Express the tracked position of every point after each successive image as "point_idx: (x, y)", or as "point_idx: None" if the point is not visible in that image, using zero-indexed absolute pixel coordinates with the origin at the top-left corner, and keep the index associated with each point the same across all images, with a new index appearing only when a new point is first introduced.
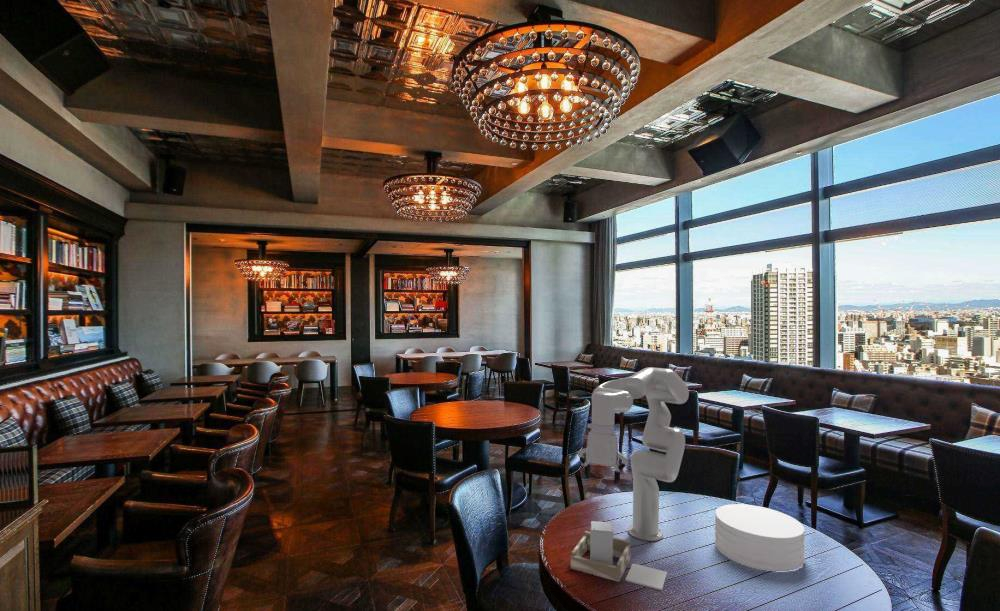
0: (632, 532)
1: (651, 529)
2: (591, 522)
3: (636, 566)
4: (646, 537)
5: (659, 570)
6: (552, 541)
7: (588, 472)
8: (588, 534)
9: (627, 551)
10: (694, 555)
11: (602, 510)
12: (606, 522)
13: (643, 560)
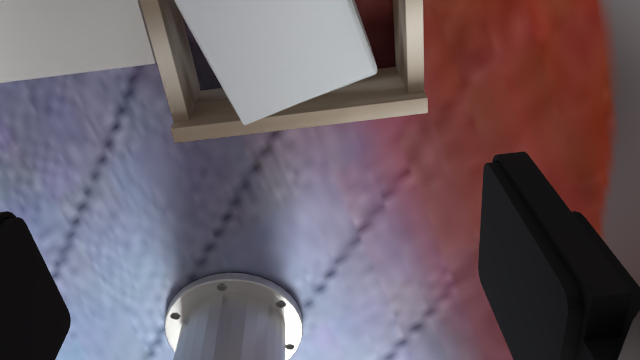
0: (271, 294)
1: (188, 326)
2: (366, 49)
3: (127, 45)
4: (206, 288)
5: (29, 74)
6: (580, 40)
7: (518, 244)
8: (402, 96)
9: (158, 61)
10: None
11: None
12: (276, 108)
13: (139, 127)
